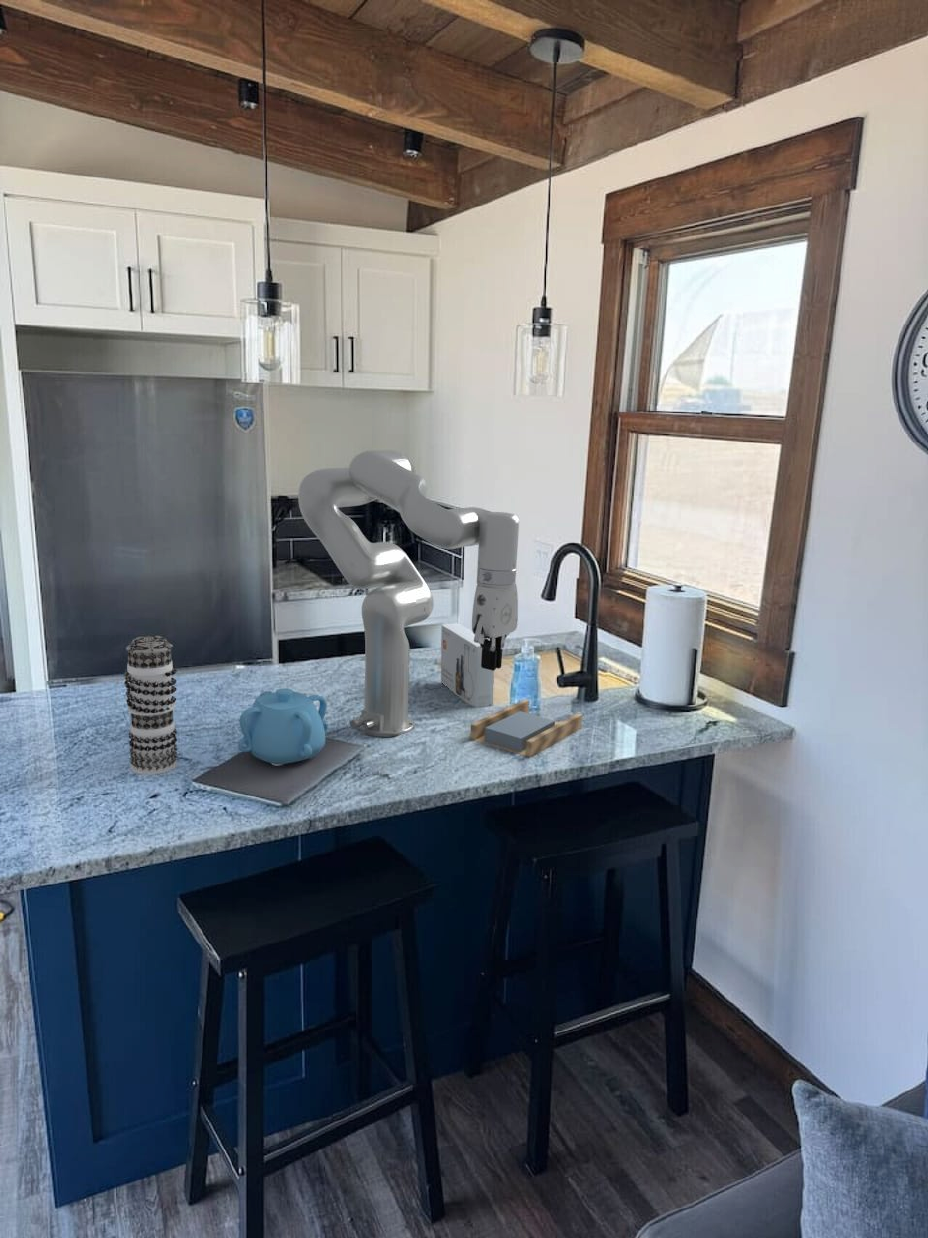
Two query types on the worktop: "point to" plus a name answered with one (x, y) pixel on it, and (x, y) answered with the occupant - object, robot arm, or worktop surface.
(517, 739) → the slate cover plate
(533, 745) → the wooden tray
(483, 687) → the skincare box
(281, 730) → the decorative pot
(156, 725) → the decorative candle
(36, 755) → the worktop surface
